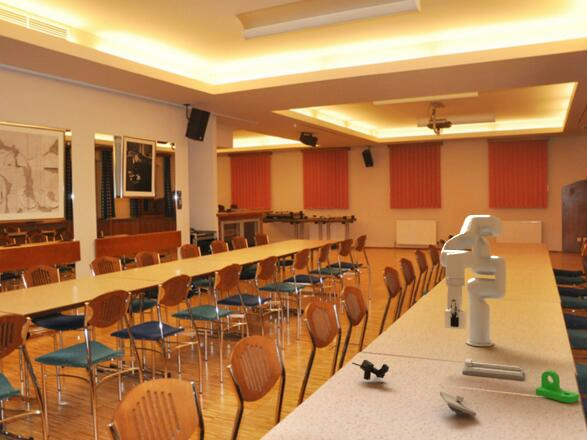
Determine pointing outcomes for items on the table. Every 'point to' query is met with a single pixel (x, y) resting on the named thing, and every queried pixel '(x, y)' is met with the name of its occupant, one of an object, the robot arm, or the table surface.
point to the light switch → (457, 404)
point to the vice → (372, 369)
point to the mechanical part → (555, 389)
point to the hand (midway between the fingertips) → (455, 324)
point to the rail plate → (492, 370)
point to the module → (461, 319)
